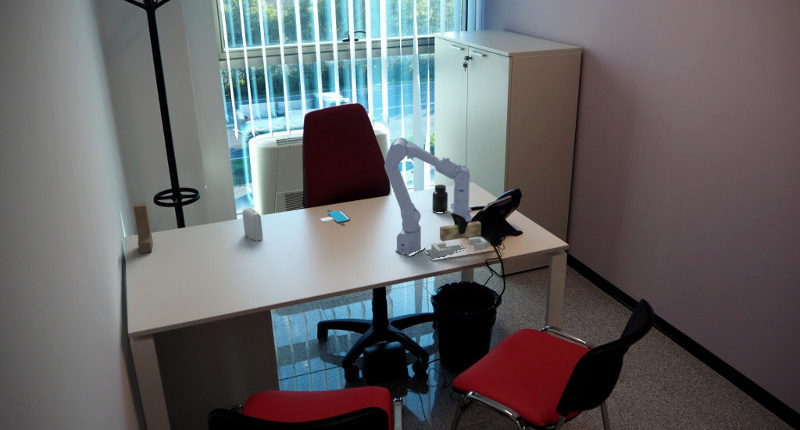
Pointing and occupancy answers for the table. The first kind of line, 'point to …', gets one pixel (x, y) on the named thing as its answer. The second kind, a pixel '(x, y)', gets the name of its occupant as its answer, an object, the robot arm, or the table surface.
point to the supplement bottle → (440, 199)
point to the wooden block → (143, 228)
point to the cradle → (455, 247)
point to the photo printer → (252, 224)
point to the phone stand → (336, 217)
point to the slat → (453, 232)
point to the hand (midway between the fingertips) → (460, 232)
